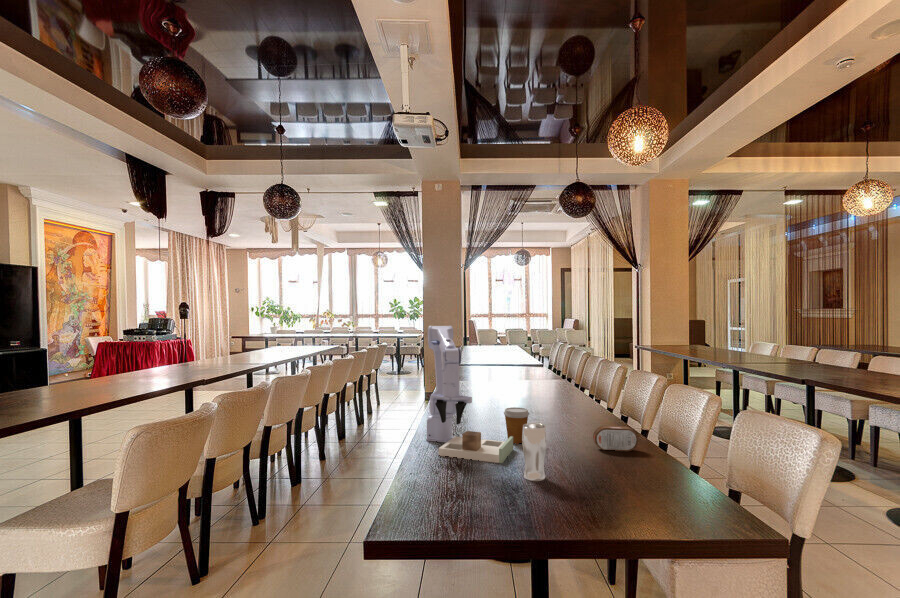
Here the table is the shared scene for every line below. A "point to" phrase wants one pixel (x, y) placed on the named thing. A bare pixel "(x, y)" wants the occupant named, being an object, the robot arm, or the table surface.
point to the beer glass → (534, 451)
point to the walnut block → (471, 440)
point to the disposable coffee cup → (515, 422)
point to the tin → (615, 438)
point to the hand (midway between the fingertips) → (451, 422)
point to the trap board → (487, 452)
